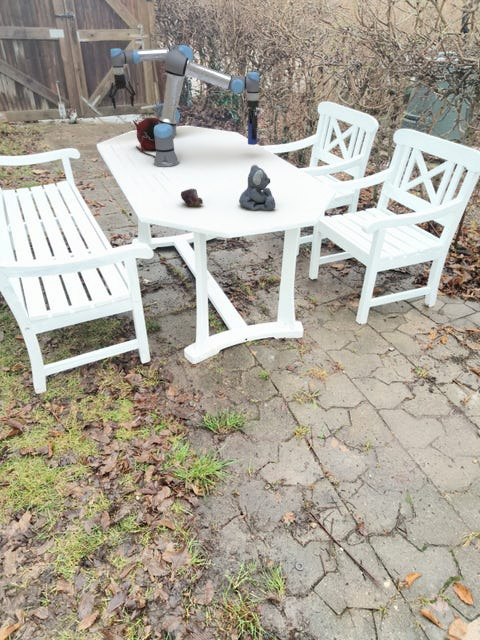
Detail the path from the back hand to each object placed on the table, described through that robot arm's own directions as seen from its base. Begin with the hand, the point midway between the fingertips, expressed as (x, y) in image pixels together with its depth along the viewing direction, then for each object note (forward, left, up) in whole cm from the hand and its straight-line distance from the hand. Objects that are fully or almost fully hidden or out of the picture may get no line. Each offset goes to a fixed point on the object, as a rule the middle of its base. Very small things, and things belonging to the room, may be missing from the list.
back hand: (123, 107), depth 328 cm
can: (+87, +54, -16) cm, 104 cm away
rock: (+145, -24, -25) cm, 149 cm away
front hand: (+87, +54, -13) cm, 103 cm away
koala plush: (+165, +2, -25) cm, 167 cm away
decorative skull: (+26, +9, -25) cm, 37 cm away
